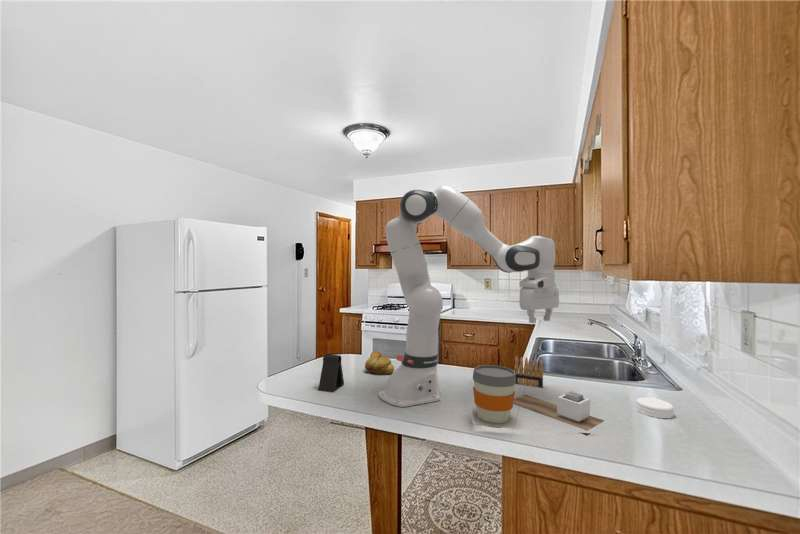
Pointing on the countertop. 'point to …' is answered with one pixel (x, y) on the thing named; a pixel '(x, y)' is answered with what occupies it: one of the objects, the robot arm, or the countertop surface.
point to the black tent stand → (331, 373)
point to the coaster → (654, 407)
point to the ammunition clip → (532, 378)
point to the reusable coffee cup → (494, 392)
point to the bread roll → (379, 364)
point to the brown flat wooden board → (551, 410)
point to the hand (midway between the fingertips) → (539, 321)
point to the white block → (573, 408)
